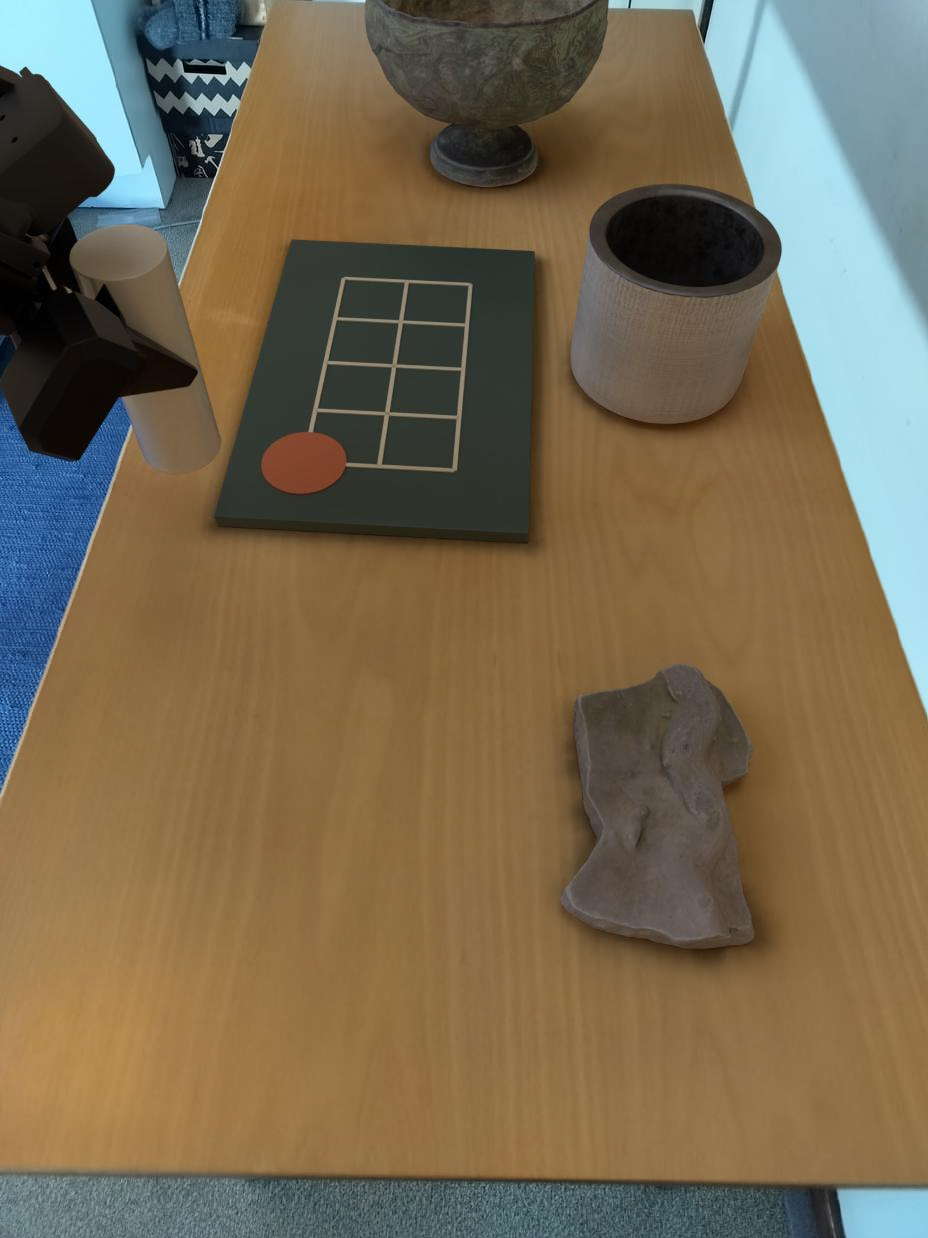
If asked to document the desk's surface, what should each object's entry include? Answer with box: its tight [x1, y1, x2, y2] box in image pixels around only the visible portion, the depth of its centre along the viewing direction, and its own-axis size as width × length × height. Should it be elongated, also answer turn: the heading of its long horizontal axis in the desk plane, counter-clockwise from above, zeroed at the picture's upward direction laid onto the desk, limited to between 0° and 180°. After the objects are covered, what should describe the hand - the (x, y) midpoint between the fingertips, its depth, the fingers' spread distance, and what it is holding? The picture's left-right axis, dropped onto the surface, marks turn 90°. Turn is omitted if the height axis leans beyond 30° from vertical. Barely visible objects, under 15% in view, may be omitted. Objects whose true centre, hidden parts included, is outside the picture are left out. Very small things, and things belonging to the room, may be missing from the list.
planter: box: [569, 183, 783, 425], centre depth 63 cm, size 13×13×11 cm
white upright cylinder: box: [69, 223, 222, 475], centre depth 49 cm, size 5×5×13 cm
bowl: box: [364, 0, 610, 188], centre depth 78 cm, size 20×19×15 cm
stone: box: [559, 663, 755, 949], centre depth 46 cm, size 15×10×4 cm, turn 173°
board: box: [213, 238, 536, 544], centre depth 67 cm, size 20×30×1 cm, turn 177°
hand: (177, 350), depth 50 cm, fingers closed on white upright cylinder, 4 cm apart
